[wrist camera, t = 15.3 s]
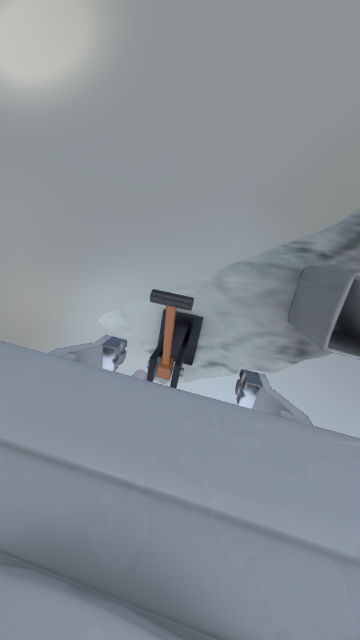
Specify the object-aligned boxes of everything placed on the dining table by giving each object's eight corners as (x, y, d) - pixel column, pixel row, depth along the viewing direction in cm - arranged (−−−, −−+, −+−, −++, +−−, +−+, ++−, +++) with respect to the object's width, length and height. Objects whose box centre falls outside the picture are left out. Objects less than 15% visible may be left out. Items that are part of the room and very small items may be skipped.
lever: (155, 285, 23) (148, 295, 21) (195, 293, 23) (191, 304, 21) (153, 363, 34) (148, 374, 32) (180, 370, 33) (177, 382, 32)
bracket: (164, 308, 43) (140, 333, 29) (203, 317, 43) (198, 347, 28) (157, 354, 47) (132, 397, 32) (192, 363, 46) (183, 410, 32)
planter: (268, 290, 39) (319, 315, 20) (306, 266, 36) (402, 270, 18) (306, 351, 41) (383, 422, 23) (345, 332, 39) (464, 395, 21)
